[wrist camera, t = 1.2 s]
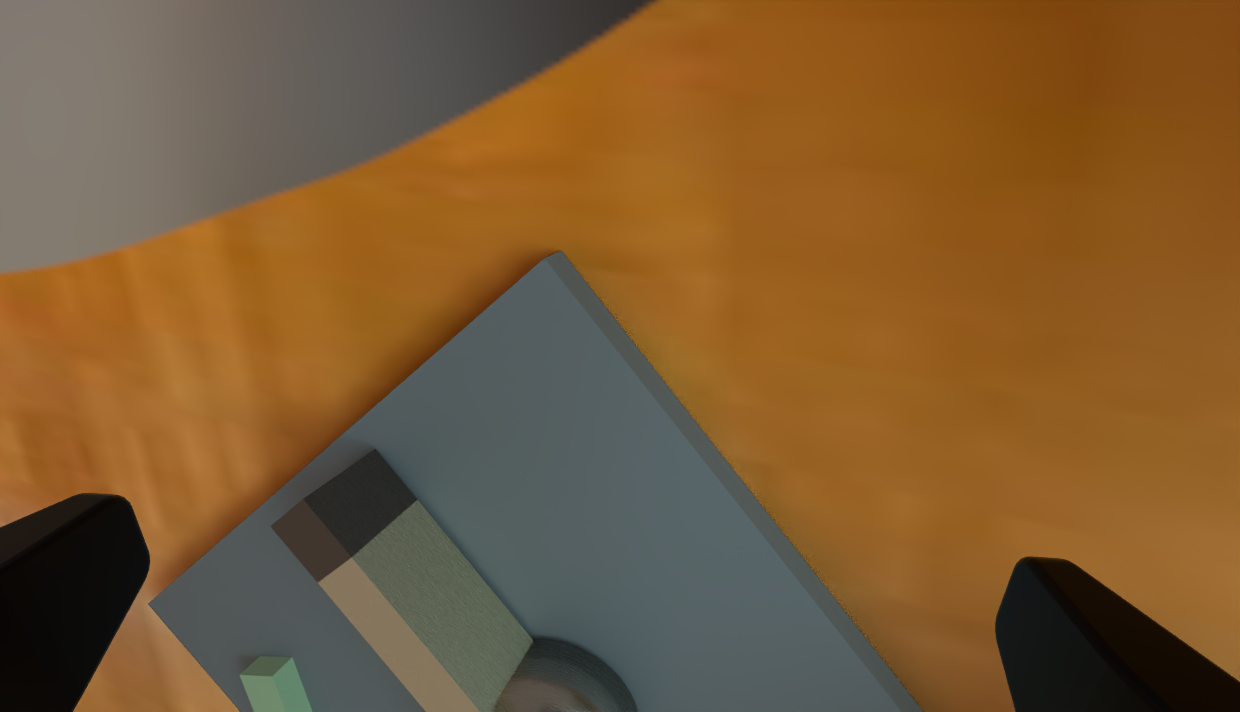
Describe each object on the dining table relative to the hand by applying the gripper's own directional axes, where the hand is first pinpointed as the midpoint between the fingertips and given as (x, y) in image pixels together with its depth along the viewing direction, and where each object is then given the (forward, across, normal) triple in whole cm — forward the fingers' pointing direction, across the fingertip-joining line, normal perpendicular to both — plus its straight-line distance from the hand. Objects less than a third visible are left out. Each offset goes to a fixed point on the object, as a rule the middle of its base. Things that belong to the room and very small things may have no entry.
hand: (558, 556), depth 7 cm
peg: (+10, +4, +13) cm, 17 cm away
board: (+11, +4, +15) cm, 20 cm away
